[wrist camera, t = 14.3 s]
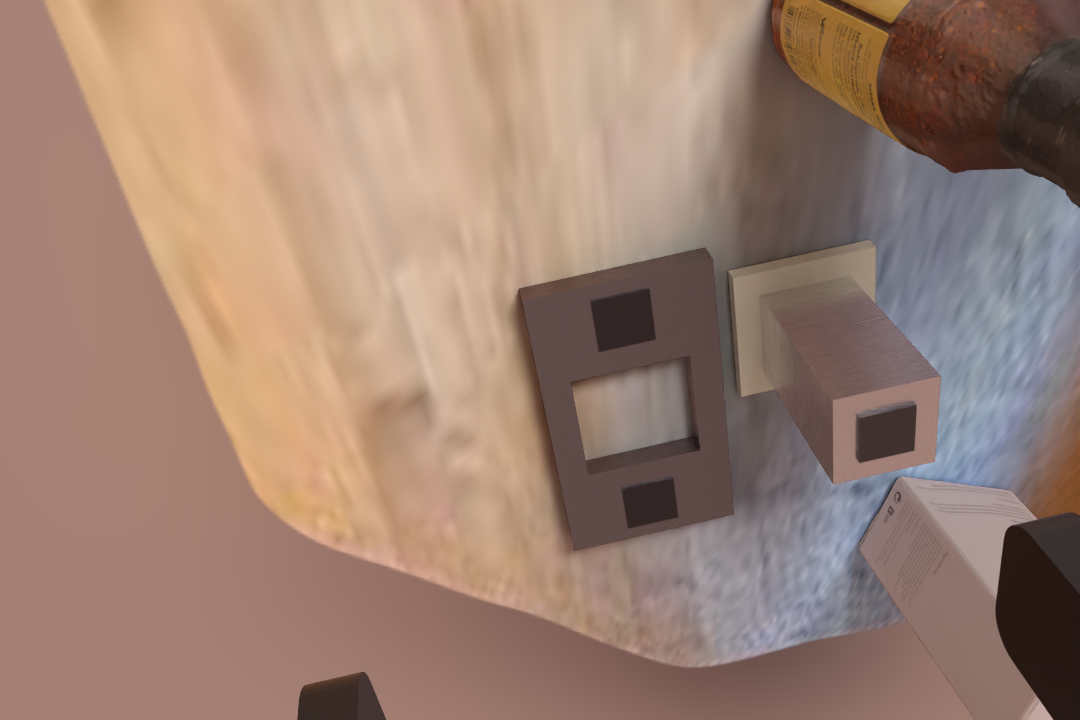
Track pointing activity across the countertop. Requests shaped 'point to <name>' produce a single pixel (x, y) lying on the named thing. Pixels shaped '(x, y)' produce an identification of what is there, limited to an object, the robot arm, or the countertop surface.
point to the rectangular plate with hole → (619, 344)
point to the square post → (849, 379)
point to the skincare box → (953, 585)
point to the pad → (782, 276)
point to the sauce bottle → (950, 76)
